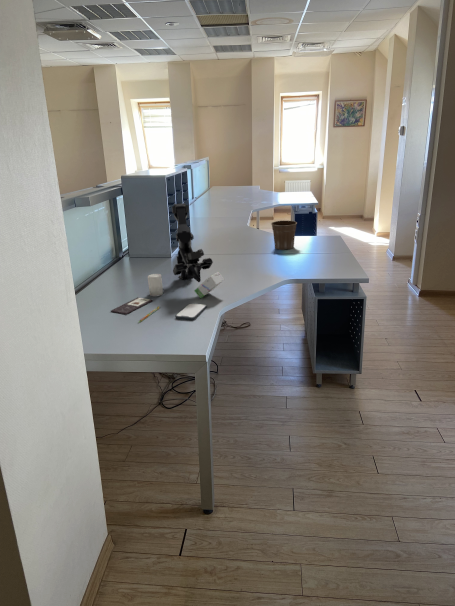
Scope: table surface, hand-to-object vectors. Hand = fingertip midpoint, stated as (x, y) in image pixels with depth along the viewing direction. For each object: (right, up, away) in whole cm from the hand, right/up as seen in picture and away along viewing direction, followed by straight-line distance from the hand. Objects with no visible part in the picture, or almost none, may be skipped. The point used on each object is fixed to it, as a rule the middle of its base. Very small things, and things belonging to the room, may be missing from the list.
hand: (199, 281), depth 206 cm
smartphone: (-2, -14, -17) cm, 22 cm away
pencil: (-20, -16, -18) cm, 31 cm away
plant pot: (+49, +25, +81) cm, 98 cm away
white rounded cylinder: (-21, -5, +8) cm, 23 cm away
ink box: (+1, -5, +2) cm, 5 cm away
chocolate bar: (-30, -12, -6) cm, 33 cm away
